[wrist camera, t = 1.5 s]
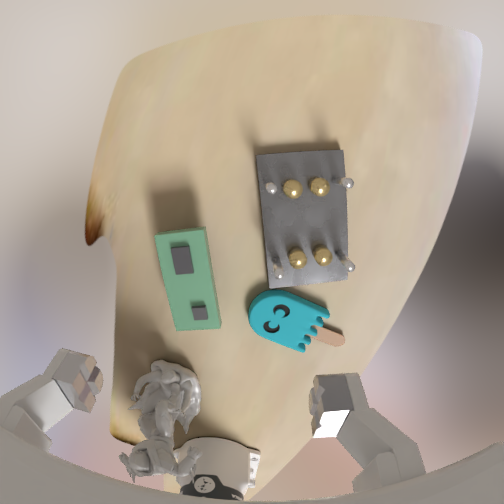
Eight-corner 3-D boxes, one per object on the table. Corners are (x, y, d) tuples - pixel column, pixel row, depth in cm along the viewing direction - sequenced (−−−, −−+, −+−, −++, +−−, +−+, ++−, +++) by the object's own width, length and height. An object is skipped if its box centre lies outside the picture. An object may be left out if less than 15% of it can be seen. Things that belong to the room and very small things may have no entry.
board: (221, 321, 34) (219, 331, 32) (179, 324, 35) (175, 333, 33) (205, 226, 31) (202, 231, 29) (158, 232, 31) (152, 237, 29)
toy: (331, 364, 38) (239, 329, 36) (329, 356, 40) (239, 321, 38) (360, 327, 37) (264, 285, 34) (355, 320, 38) (263, 278, 36)
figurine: (139, 338, 39) (91, 427, 22) (219, 365, 40) (205, 466, 23) (130, 406, 44) (101, 480, 27) (194, 427, 46) (180, 506, 28)
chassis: (345, 276, 36) (358, 295, 31) (269, 285, 36) (271, 306, 31) (340, 150, 31) (356, 148, 26) (255, 155, 31) (256, 154, 26)
